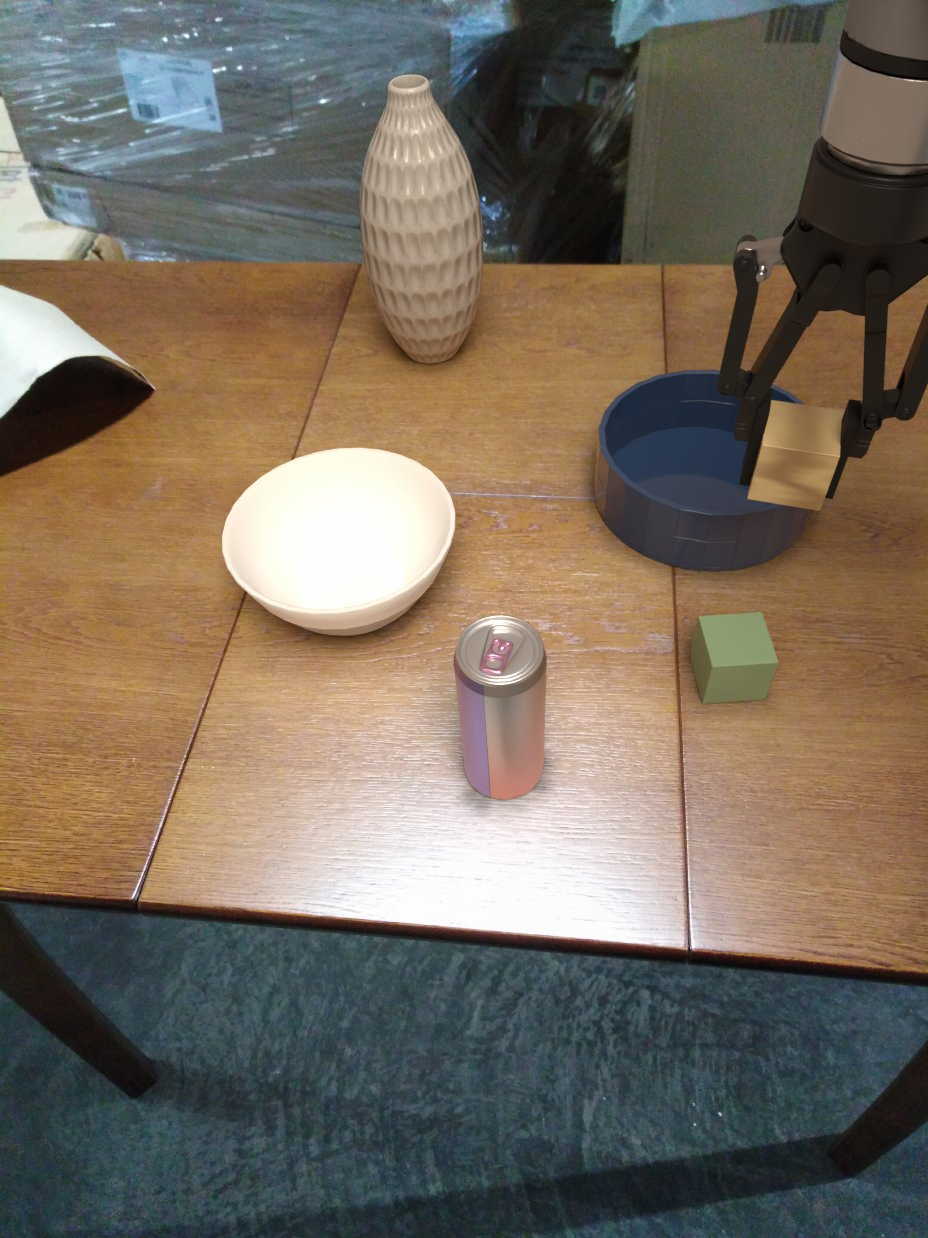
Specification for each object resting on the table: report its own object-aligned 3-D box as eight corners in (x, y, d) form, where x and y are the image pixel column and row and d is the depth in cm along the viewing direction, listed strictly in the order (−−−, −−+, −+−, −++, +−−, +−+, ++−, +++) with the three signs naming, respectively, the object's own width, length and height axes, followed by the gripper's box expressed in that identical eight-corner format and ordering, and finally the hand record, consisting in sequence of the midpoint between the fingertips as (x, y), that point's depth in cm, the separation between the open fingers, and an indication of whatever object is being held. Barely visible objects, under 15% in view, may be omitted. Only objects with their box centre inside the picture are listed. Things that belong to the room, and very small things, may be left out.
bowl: (252, 524, 86) (230, 458, 80) (452, 504, 87) (446, 436, 80) (237, 688, 74) (210, 626, 68) (471, 664, 74) (466, 599, 68)
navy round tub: (816, 444, 90) (835, 385, 84) (801, 590, 78) (822, 533, 72) (616, 414, 94) (622, 357, 89) (573, 548, 82) (577, 491, 77)
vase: (408, 395, 98) (376, 122, 76) (359, 340, 105) (317, 76, 84) (507, 358, 102) (503, 86, 80) (453, 306, 109) (436, 45, 87)
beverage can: (452, 789, 67) (437, 671, 55) (481, 726, 70) (472, 602, 59) (528, 814, 65) (529, 698, 54) (553, 748, 69) (559, 625, 57)
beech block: (824, 464, 66) (843, 409, 62) (820, 511, 63) (840, 456, 59) (754, 453, 67) (768, 399, 63) (747, 499, 64) (761, 444, 60)
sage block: (749, 650, 74) (761, 611, 70) (765, 700, 71) (779, 662, 67) (689, 654, 74) (698, 615, 70) (702, 704, 71) (712, 666, 67)
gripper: (1074, 124, 47) (919, 465, 65) (722, 100, 51) (669, 427, 69) (1092, 192, 42) (920, 537, 60) (705, 160, 46) (652, 493, 64)
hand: (786, 478), depth 64 cm, fingers closed on beech block, 5 cm apart
